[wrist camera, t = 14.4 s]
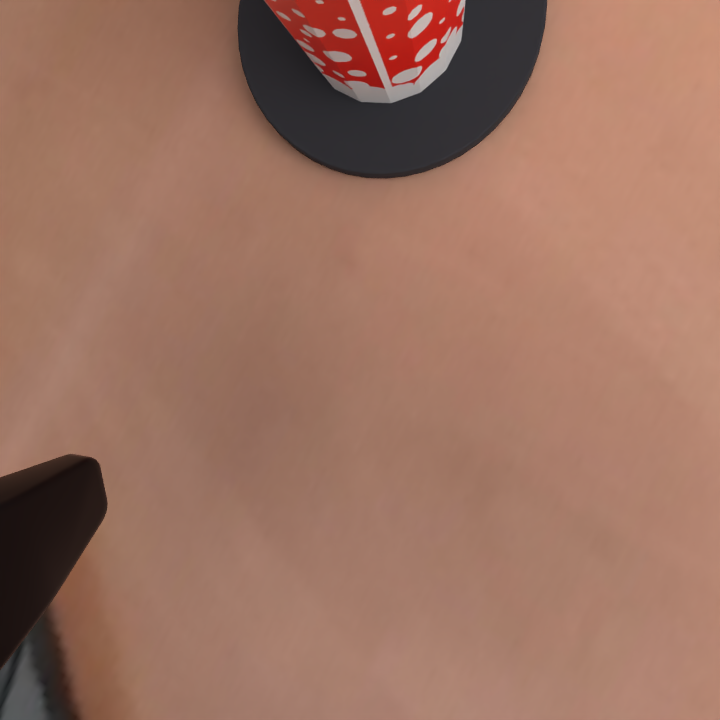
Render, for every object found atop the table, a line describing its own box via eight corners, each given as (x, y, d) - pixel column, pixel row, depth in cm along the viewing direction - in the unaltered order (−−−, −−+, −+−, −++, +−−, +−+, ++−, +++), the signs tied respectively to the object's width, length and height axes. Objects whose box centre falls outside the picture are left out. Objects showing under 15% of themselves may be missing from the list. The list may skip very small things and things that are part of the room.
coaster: (307, 226, 19) (302, 223, 19) (201, -41, 19) (193, -52, 19) (593, 97, 18) (597, 89, 17) (474, -194, 18) (474, -212, 17)
